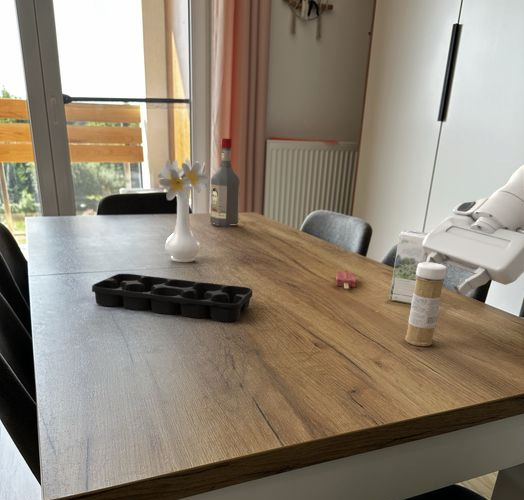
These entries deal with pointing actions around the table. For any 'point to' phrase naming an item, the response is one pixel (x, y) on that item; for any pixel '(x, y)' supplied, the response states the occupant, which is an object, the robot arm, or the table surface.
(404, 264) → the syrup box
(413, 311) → the spice jar
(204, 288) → the egg carton
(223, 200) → the liquor
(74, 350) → the table surface
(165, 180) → the flower vase
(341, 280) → the popsicle
